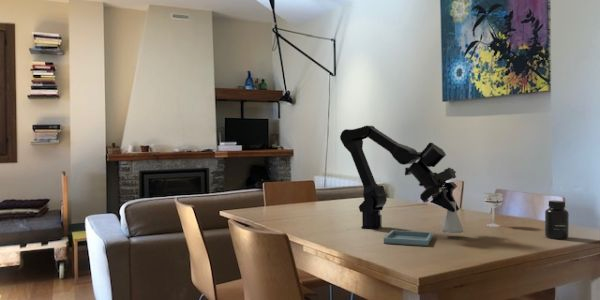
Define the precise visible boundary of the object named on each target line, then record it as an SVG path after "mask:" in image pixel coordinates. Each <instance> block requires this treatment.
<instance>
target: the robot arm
mask: <svg viewBox="0 0 600 300" xmlns="http://www.w3.org/2000/svg"><path fill="white" fill-rule="evenodd" d="M367 138H368V139H370V140H371V141H373V142H374V143H376V144H377V145H379V146H380V147H382V148H383V149H384V150H386V151H387V152H389V153H390V155H392V158H393V159H394V160H395V161H396V162H397V163H398V164H399V165H405V166H406V165H410V166H409V167H408V166H407V167H405V168H404V169H405V170H404V171H405V172H404V176H410V175H412V176H413V177H414V178H415V179H416V181H418V186H420V187H423V188H424V189H425V190H424V191H422V193H420V195H419V198H420V200H421V201H422V203H424V204H425V203H428V202H429V198H431V199H432V200H430V203H432V204H434V205H436V206H439V207H441V208H443V209H445V210H449V211H451V212H454V211H455V209H454V207H453V205H452V204H451V203H450V202H457V201H456V199H455V198H454V194H453V192H454V190H455V189H456V188H457V187H458V185H457V183H455V182H454V181H449V180H452V179H456V178H457V175H456V174H457V172H456V170H455V169H454V168H452V167H447V168H445V169H444V170H443V171H441V172H433V171H432V169H431V167H433V168H435V167H436V166H437V165H438V164H439V163H440V162H441V161H442V160H443V159H444V158H445V157H446V156H447V155H446V151H444V149H442V148H441V147H439V146H438V145H436V144H435V143H434V142H428V144H427V145H426V147H425V148H424V149H423V150H422V151H420V152H419V151H417V149H415V148H413V147H410V146H408V145H404V144H401V143H399V142H397V141H395V140H394V139H393V138H391V137H390V136H388V135H386V134H384V133H383V132H382V131H380V130H379V129H378V128H376V127H375V126H374V125H364V126H362V127H358V128H353V129H343V130H342V132H341V133H340V135H339V139H340V142H341V143H342V145H343V146H344V148H345V149H346V150H347V151H348V152H349V153H350V155H351V158H352V161H353V163H354V165H355V168H356V170H357V173H358V175H359V179H360V182H361V184H362V185H363V193H362V196H363V201H362V202H361V204H360V205H359V206H358V210H359V212H360V213H361V214H362V217H361V218H362V220H361V221H362V226H361V227H360V228H361V229H374V230H378V229H380V228H381V227H382V226H383V221H382V219H383V216H382V214H381V211H383V209H384V206H385V205H386V203H387V199H388V198H387V196H388V194H387V193H386V191H385V187H384V186H383V185H378V184H377V182H376V180H375V178H374V175H373V173H372V170H371V167H370V165H369V162H368V159H367V157H366V155H365V152H364V150H363V145H364V140H365V139H367ZM447 181H448V182H447ZM459 210H460V208H459V206H458V204H456V211H457V212H458V211H459Z"/></svg>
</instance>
